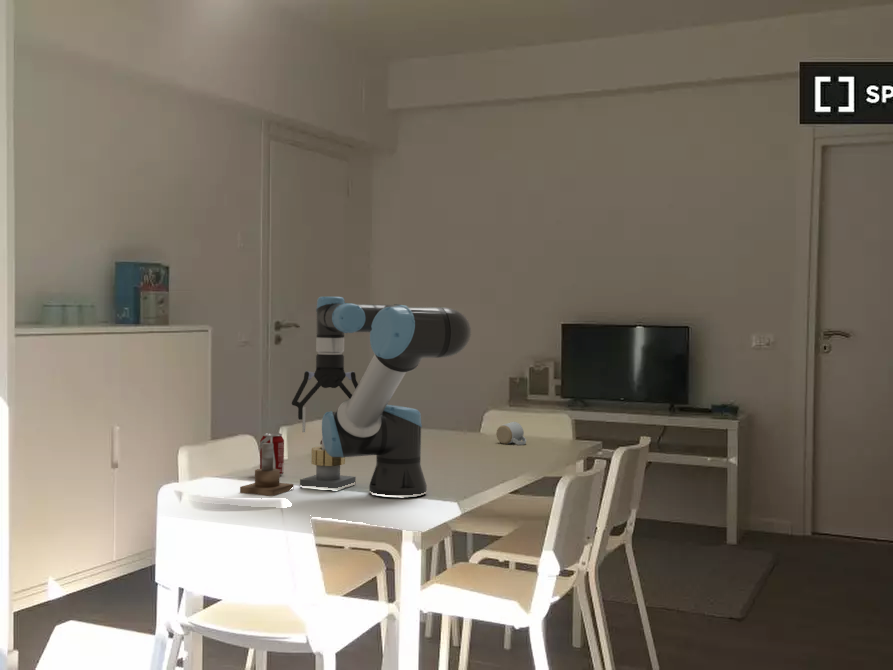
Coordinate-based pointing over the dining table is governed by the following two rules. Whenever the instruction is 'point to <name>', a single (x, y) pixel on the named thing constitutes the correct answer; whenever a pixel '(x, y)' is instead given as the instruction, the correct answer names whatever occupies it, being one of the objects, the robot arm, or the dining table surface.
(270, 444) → the stand
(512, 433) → the ceramic mug
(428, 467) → the dining table surface
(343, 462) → the collar
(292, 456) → the dining table surface
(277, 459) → the soda can
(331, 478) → the hub
